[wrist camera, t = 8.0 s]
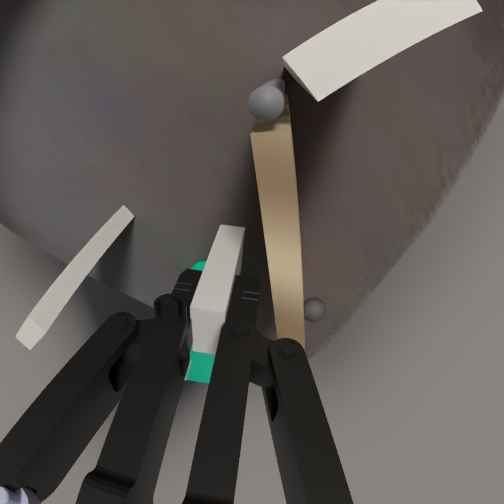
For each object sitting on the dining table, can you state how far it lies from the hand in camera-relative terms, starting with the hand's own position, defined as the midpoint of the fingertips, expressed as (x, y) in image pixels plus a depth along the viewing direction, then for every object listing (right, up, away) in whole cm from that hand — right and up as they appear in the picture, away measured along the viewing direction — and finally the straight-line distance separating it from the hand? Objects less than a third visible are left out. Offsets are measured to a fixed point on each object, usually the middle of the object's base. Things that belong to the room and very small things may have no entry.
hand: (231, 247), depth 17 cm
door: (+5, +5, +8) cm, 10 cm away
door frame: (-3, +9, +6) cm, 11 cm away
